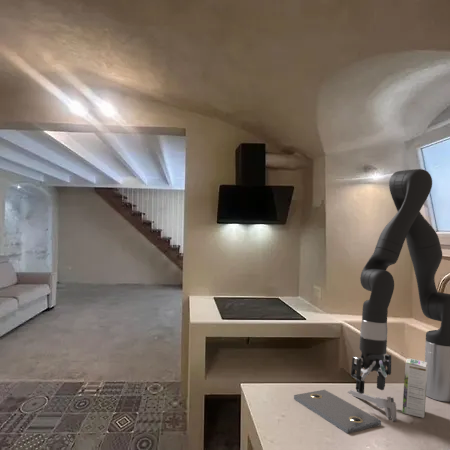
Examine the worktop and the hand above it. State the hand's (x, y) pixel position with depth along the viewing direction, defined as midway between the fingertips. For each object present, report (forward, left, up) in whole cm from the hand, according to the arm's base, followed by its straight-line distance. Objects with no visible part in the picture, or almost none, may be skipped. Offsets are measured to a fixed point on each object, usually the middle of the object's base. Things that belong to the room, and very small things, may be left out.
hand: (370, 390), depth 116 cm
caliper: (0, 0, -5) cm, 5 cm away
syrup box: (-10, +8, -5) cm, 13 cm away
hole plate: (+12, -1, -5) cm, 13 cm away
